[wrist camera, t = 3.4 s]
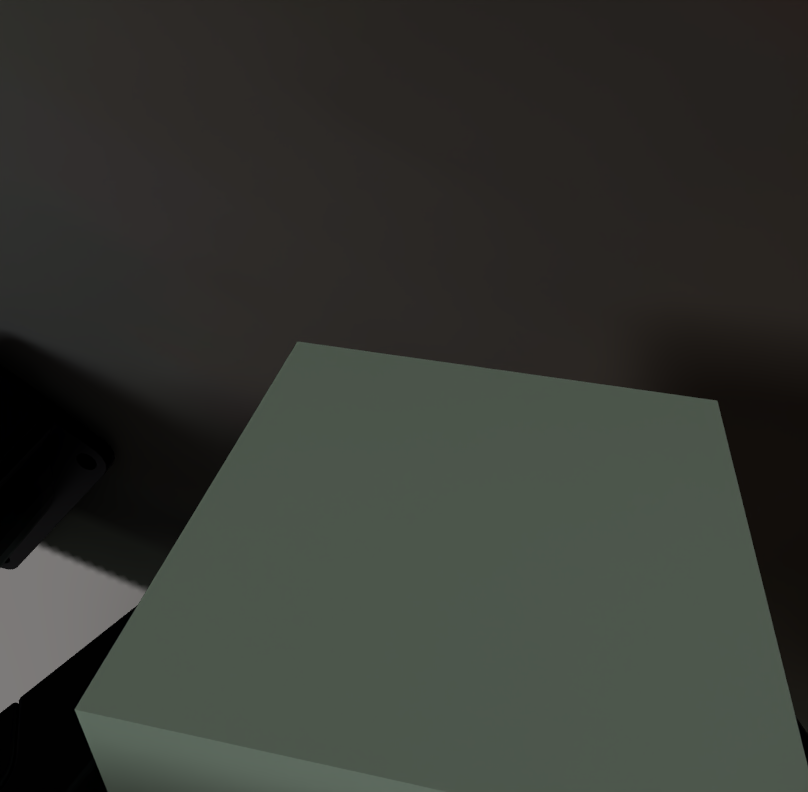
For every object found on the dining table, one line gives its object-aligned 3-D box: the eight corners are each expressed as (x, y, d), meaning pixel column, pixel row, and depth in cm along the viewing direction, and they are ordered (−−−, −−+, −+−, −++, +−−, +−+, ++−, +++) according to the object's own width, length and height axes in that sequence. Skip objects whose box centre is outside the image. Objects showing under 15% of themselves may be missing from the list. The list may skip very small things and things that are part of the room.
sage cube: (717, 400, 8) (836, 877, 4) (624, 661, 11) (645, 1089, 7) (297, 341, 9) (75, 709, 5) (311, 602, 12) (176, 965, 8)
